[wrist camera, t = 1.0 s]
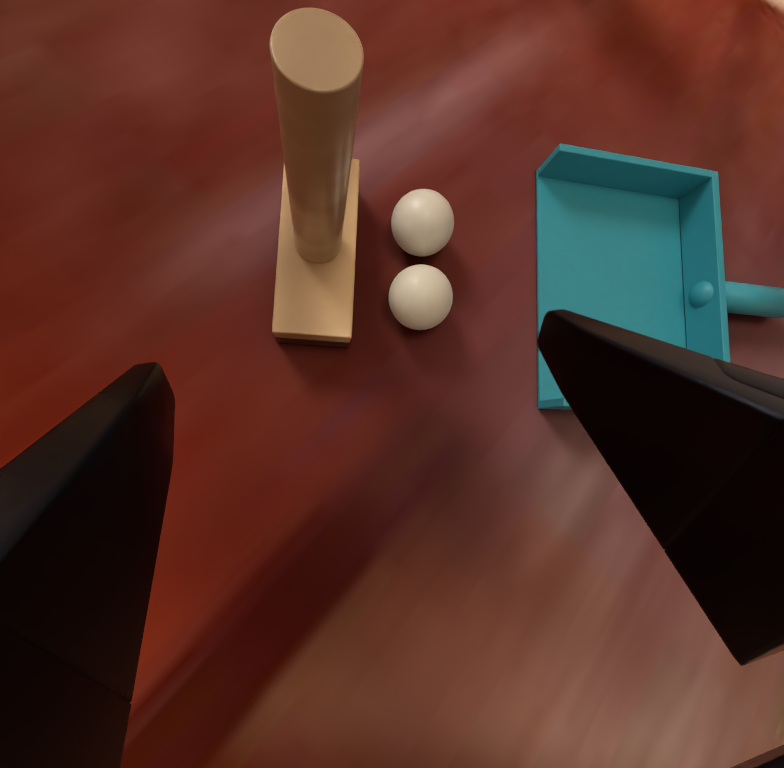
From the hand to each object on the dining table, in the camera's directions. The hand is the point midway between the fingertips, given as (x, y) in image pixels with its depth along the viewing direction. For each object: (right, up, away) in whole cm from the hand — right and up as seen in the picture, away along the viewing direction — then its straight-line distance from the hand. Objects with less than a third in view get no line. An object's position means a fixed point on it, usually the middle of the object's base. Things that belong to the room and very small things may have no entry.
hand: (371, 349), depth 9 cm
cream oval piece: (+2, +8, +15) cm, 18 cm away
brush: (-4, +6, +14) cm, 16 cm away
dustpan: (+19, +5, +18) cm, 27 cm away
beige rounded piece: (+2, +4, +15) cm, 15 cm away
